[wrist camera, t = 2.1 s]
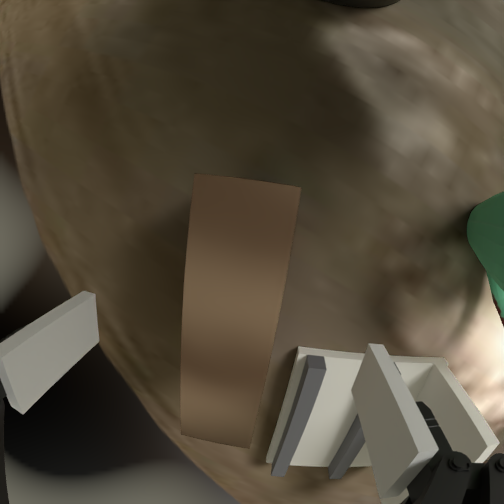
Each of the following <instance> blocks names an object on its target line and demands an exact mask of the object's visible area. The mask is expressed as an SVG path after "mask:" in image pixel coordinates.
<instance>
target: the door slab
mask: <svg viewBox="0 0 504 504" xmlns="http://www.w3.org/2000/svg"><path fill="white" fill-rule="evenodd" d="M300 194H301V188H300V187H296V186H292V185H286V184H280V183H273V182H267V181H260V180H253V179H245V178H237V177H228V176H218V175H208V174H197V173H195V175H194V183H193V192H192V200H191V209H190V219H189V229H188V240H187V251H186V264H185V277H184V293H183V311H182V334H181V376H180V411H181V435H185V436H189V437H193V438H197V439H201V440H206V441H210V442H215V443H220V444H225V445H230V446H236V447H242V448H248V449H250V445H251V441H252V436H253V432H254V428H255V424H256V420H257V416H258V411H259V407H260V403H261V398H262V394H263V390H264V385H265V381H266V376H267V372H268V367H269V362H270V358H271V353H272V348H273V343H274V339H275V334H276V329H277V324H278V319H279V314H280V309H281V303H282V298H283V293H284V288H285V282H286V277H287V272H288V266H289V260H290V255H291V249H292V243H293V237H294V232H295V226H296V220H297V213H298V207H299V201H300Z"/></svg>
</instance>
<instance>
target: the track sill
mask: <svg viewBox="0 0 504 504" xmlns="http://www.w3.org/2000/svg"><path fill="white" fill-rule="evenodd" d="M364 355H365V354H364V353H353V352H343V351H333V350H324V349H316V348H308V347H300V346H298V350H297V353H296V357H295V361H294V365H293V369H292V372H291V376H290V380H289V383H288V387H287V391H286V394H285V398H284V401H283V404H282V408H281V411H280V415H279V418H278V421H277V424H276V428H275V431H274V434H273V437H272V440H271V443H270V446H269V450H268V453H267V456H266V463H272V470H271V476H280V477H284V475H285V473H286V471H287V469H288V467H289V465H297V466H315V467H328V471H329V479H341V478H342V477H343V475H344V474H345V472H346V471H347V469H348V468H349V467H362V466H372V465H371V461H370V457H369V453H368V449H367V445H366V441H365V437H364V434H363V430H362V426H361V423H360V419H359V416H358V412H357V408H356V405H355V402H354V398H353V395H352V391H351V389H352V386H353V384H354V381H355V379H356V376H357V374H358V371H359V369H360V366H361V363H362V360H363V358H364ZM390 357H391V359H392V361H393V362H394V364H395V366H396V368H397V370H398V371H399V373H400V375H401V377H402V379H403V380H404V382H405V384H406V386H407V388H408V390H409V391H410V393H411V395H412V397H413V399H414V401H415V402H419V401H422V402H423V403H424V404H425V405H427V406H428V407H429V408H430V409H431V411H432V413H433V415H434V416H435V420H437V422H438V424H439V427H441V429H442V431H443V433H444V435H445V437H446V439H447V441H448V443H449V444H450V446H451V448H452V450H453V451H457V452H461V453H463V454H465V455H467V457H468V458H469V459H470V460H471V463H483V462H484V461H485V460H486V459H487V458H488V456H489V455H490V454H491V453H492V452H493V450H494V449H495V448H496V447H497V445H498V444H499V441H498V439H497V438H496V436H495V435H494V433H493V431H492V430H491V428H490V427H489V425H488V424H487V422H486V421H485V419H484V417H483V416H482V414H481V413H480V411H479V410H478V409H477V407H476V406H475V404H474V403H473V401H472V400H471V398H470V397H469V395H468V394H467V393H466V391H465V390H464V388H463V387H462V386H461V384H460V383H459V381H458V380H457V379H456V377H455V376H454V375H453V373H452V372H451V371H450V369H449V368H448V367H447V366H448V364H449V363H448V362H447V361H446V359H445V358H444V357H412V356H392V355H390ZM408 495H409V493H408V490H407V488H406V489H405V490H404V491H403V492H402V493H401V494H400V495H399V496H397V497H390V498H383V499H381V503H382V504H400V503H401V502H402V501H403V500H404V499H405V498H406V497H407V496H408Z"/></svg>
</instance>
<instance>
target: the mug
mask: <svg viewBox="0 0 504 504" xmlns="http://www.w3.org/2000/svg"><path fill="white" fill-rule="evenodd" d="M467 238H468V242H469V244H470V246H471V248H472V249H473V251H474V252H475V254H476V256H477V257H478V259H479V261H480V262H481V264H482V265H483V267H484V268H485V269H486V272H487V276H488V280H489V284H490V289H491V293H492V298H493V302H494V304H495V306H496V309H497V311H498V314H499V316H500V319H501V321H502V324H503V326H504V192H501V193H499V194H497V195H494V196H492V197H491V198H489V199H487V200H485V201H484V202H482V203H480V204H479V205H477V206H476V207H475V208H474V209H473V210H472V212H471V214H470V216H469V219H468V223H467Z"/></svg>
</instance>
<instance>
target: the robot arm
mask: <svg viewBox="0 0 504 504" xmlns="http://www.w3.org/2000/svg"><path fill="white" fill-rule="evenodd" d="M323 1H326V2H330V3H334V4H339V5H345V6H352V7H367V8H368V7H381V6H387V5H390V4H393V3H396V2H398V1H400V0H323ZM98 342H99V333H98V322H97V310H96V295H95V294H94V293H90V292H87V291H82V292H81V293H79V294H77V295H76V296H74V297H72V298H71V299H69V300H67V301H66V302H64V303H63V304H61V305H59V306H58V307H56V308H54V309H53V310H51V311H50V312H48V313H46V314H45V315H43V316H41V317H40V318H38V319H37V320H35V321H34V322H32V323H30V324H29V325H27V326H23V327H20V328H19V329H17V330H15V331H14V332H12V334H9V335H7V336H6V338H3V339H1V340H0V504H9V500H8V493H7V486H6V475H5V462H4V408H5V407H4V406H5V405H4V401H3V398H4V397H5V396H6V395H7V397H8V400H9V402H10V404H11V406H12V407H13V408H15V409H16V410H17V411H19V412H21V413H22V414H24V413H25V412H26V411H27V410H28V409H29V408H30V407H31V406H32V405H33V404H34V403H35V402H36V401H37V400H38V399H39V398H40V397H41V396H42V395H43V394H44V393H45V392H46V391H47V390H48V389H49V388H50V387H51V386H52V385H54V384H55V383H56V381H58V379H60V378H61V377H62V376H63V375H64V374H65V373H66V372H67V371H68V370H69V369H70V368H71V367H72V366H73V365H74V364H75V363H77V362H78V361H79V360H80V358H82V357H83V356H84V355H85V354H86V353H87V352H88V351H89V350H90V349H92V348H93V347H94V346H95V345H96V344H97V343H98ZM351 391H352V395H353V398H354V402H355V405H356V408H357V412H358V416H359V419H360V423H361V426H362V430H363V434H364V437H365V441H366V445H367V449H368V453H369V457H370V461H371V465H372V469H373V473H374V477H375V481H376V485H377V490H378V494H379V498H380V499H383V498H390V497H397V496H399V495H400V494H401V493H402V492H403V491H404V490H405V489H406V488H407V490H408V493H409V495H408V496H407V497H406V498H405V499H404V500H403V501H402V502H401V503H400V504H504V454H501V453H498V454H495V455H493V456H492V457H491V458H490V459H489V460H488V461H487V463H471V460H470V459H469V458H468V457H467V455H465V454H463V453H461V452H457V451H453V450H452V448H451V446H450V444H449V443H448V441H447V439H446V437H445V435H444V433H443V431H442V429H441V427H439V424H438V422H437V420H435V416H434V415H433V413H432V411H431V409H430V408H429V407H428V406H427V405H425V404H424V403H423V402H422V401H419V402H415V401H414V399H413V397H412V395H411V393H410V391H409V390H408V388H407V386H406V384H405V382H404V380H403V379H402V377H401V375H400V373H399V371H398V370H397V368H396V366H395V364H394V362H393V361H392V359H391V357H390V355H389V354H388V352H387V350H386V349H385V347H384V345H382V344H368V347H367V349H366V352H365V355H364V358H363V360H362V363H361V366H360V369H359V371H358V374H357V376H356V379H355V381H354V384H353V386H352V389H351Z"/></svg>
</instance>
